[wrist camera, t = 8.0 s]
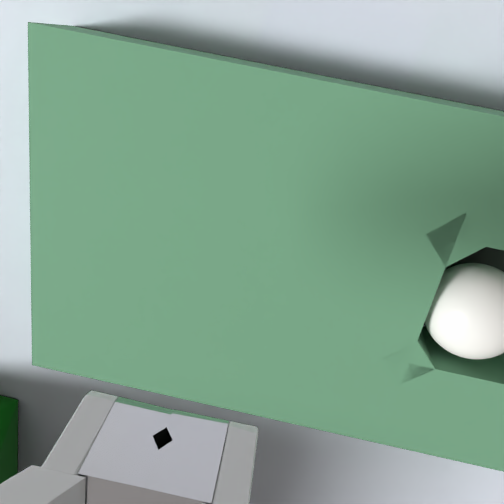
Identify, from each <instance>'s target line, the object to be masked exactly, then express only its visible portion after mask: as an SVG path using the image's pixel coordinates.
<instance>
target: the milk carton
mask: <svg viewBox="0 0 504 504" xmlns="http://www.w3.org/2000/svg"><path fill="white" fill-rule="evenodd" d="M17 467H18V400H17V399H13V398H9V397H5V396H1V395H0V484H1V483H3V482H4V481H6V480H8V479H9V478H11V477H13V476H15V475H16V474H17Z"/></svg>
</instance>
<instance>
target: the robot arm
mask: <svg viewBox="0 0 504 504" xmlns="http://www.w3.org/2000/svg"><path fill="white" fill-rule="evenodd" d="M228 424H229V425H228ZM227 429H228V430H227ZM258 433H259V431H258V427H256V426H251V425H247V424H242V423H237V422H232V421H230V422H229V421H228V420H223V419H218V418H213V417H209V416H204V415H199V414H194V413H189V412H184V411H180V410H175V409H174V410H172V409H168V408H164V407H160V406H156V405H152V404H148V403H144V402H140V401H136V400H132V399H127V398H123V397H117V396H113V395H109V394H105V393H101V392H97V391H93V390H91V391H90V392H89V393H88V394H86V395H85V396H84V398H83V399H82V401H81V403H80V404H79V406H78V407H77V409H76V411H75V412H74V414H73V416H72V417H71V419H70V421H69V422H68V424H67V425H66V427H65V429H64V430H63V432H62V434H61V435H60V437H59V439H58V440H57V442H56V443H55V445H54V447H53V448H52V450H51V452H50V453H49V455H48V456H47V458H46V460H45V461H44V463H43V465H42V466H41V467H39V466H34V465H31V466H30V467H28V468H26V469H25V470H23V471H21V472H20V473H18V474H16V475H15V476H13V477H11V478H9V479H8V480H6V481H4V482H3V483H1V484H0V504H249V502H250V494H251V487H252V479H253V471H254V464H255V456H256V448H257V441H258ZM226 434H227V435H226ZM223 448H224V449H223ZM222 453H223V454H222ZM221 458H222V459H221Z"/></svg>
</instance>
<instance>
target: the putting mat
mask: <svg viewBox="0 0 504 504" xmlns="http://www.w3.org/2000/svg"><path fill="white" fill-rule="evenodd" d="M28 72H29V152H30V233H31V313H32V365H34V366H39V367H43V368H48V369H52V370H57V371H61V372H65V373H70V374H74V375H79V376H83V377H88V378H92V379H96V380H101V381H105V382H110V383H114V384H119V385H123V386H127V387H132V388H136V389H141V390H145V391H150V392H154V393H158V394H163V395H167V396H172V397H176V398H181V399H185V400H189V401H194V402H198V403H203V404H207V405H212V406H216V407H220V408H225V409H229V410H234V411H238V412H243V413H247V414H251V415H256V416H260V417H265V418H269V419H274V420H278V421H282V422H287V423H291V424H296V425H300V426H305V427H309V428H313V429H318V430H322V431H327V432H331V433H336V434H340V435H344V436H349V437H353V438H358V439H362V440H367V441H371V442H375V443H380V444H384V445H389V446H393V447H398V448H402V449H406V450H411V451H415V452H420V453H424V454H429V455H433V456H437V457H442V458H446V459H451V460H455V461H460V462H464V463H468V464H473V465H477V466H482V467H486V468H491V469H495V470H499V471H504V353H503V354H500V355H498V356H495V357H492V358H487V359H468V358H463V357H460V356H457V355H454V354H452V353H450V352H448V351H447V350H445V349H444V348H442V347H441V346H440V345H439V344H438V343H437V342H436V341H435V340H434V339H433V338H432V336H431V335H430V333H429V332H428V330H427V328H426V327H423V325H424V322H425V320H426V317H427V315H428V312H429V309H430V307H431V304H432V302H433V299H434V296H435V294H436V291H437V289H438V286H439V283H440V281H441V278H442V275H443V273H444V270H446V269H448V268H450V267H453V266H455V265H459V264H464V263H480V264H486V265H489V266H492V267H495V268H497V269H499V270H501V271H503V272H504V111H500V110H495V109H490V108H485V107H480V106H475V105H470V104H465V103H460V102H454V101H449V100H444V99H439V98H434V97H429V96H424V95H419V94H414V93H409V92H404V91H399V90H394V89H389V88H384V87H379V86H374V85H369V84H364V83H359V82H353V81H348V80H343V79H338V78H333V77H328V76H323V75H318V74H313V73H308V72H303V71H298V70H293V69H288V68H283V67H278V66H273V65H268V64H263V63H258V62H253V61H247V60H242V59H237V58H232V57H227V56H222V55H217V54H212V53H207V52H202V51H197V50H192V49H187V48H182V47H177V46H172V45H167V44H162V43H157V42H152V41H147V40H141V39H136V38H131V37H126V36H121V35H116V34H111V33H106V32H101V31H96V30H91V29H86V28H81V27H76V26H68V25H56V24H44V23H31V22H28Z"/></svg>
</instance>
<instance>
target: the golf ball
mask: <svg viewBox="0 0 504 504" xmlns="http://www.w3.org/2000/svg"><path fill="white" fill-rule="evenodd" d="M424 323H425V326H426V328H427V330H428V332H429V333H430V335H431V336H432V338H433V339H434V340H435V341H436V342H437V343H438V344H439V345H440V346H441V347H442V348H444V349H445V350H447V351H448V352H450V353H452V354H454V355H457V356H460V357H463V358H468V359H487V358H492V357H495V356H498V355H500V354H503V353H504V272H503V271H501V270H499V269H497V268H495V267H492V266H489V265H486V264H480V263H464V264H459V265H455V266H453V267H450V268H448V269H446V270H444V273H443V275H442V278H441V281H440V283H439V286H438V289H437V291H436V294H435V296H434V299H433V302H432V304H431V307H430V309H429V312H428V315H427V317H426V320H425V322H424Z"/></svg>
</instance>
